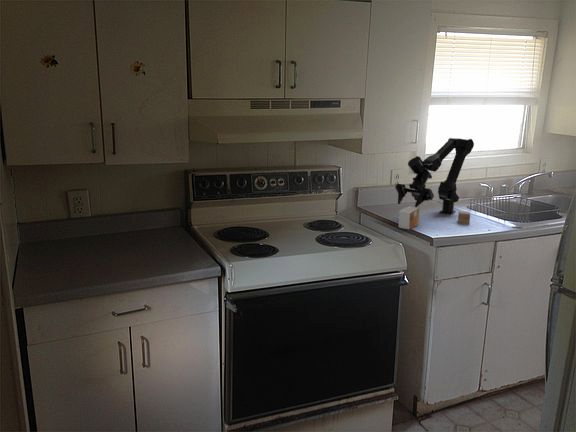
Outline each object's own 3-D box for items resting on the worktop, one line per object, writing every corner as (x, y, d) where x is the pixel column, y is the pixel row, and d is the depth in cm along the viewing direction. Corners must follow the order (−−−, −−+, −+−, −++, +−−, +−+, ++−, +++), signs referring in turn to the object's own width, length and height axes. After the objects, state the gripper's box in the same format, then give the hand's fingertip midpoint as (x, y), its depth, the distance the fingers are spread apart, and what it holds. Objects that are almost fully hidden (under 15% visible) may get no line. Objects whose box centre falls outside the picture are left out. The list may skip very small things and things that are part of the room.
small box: (418, 223, 252) (409, 230, 244) (407, 221, 256) (398, 227, 248) (419, 207, 250) (410, 213, 242) (408, 205, 253) (398, 211, 245)
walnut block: (457, 221, 262) (458, 211, 261) (468, 221, 261) (469, 211, 259) (458, 223, 257) (459, 213, 256) (469, 224, 256) (470, 214, 255)
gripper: (442, 192, 262) (429, 218, 257) (408, 187, 274) (395, 211, 269) (436, 178, 254) (422, 205, 249) (401, 173, 267) (387, 198, 261)
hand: (406, 205), depth 257 cm, fingers open, 9 cm apart
